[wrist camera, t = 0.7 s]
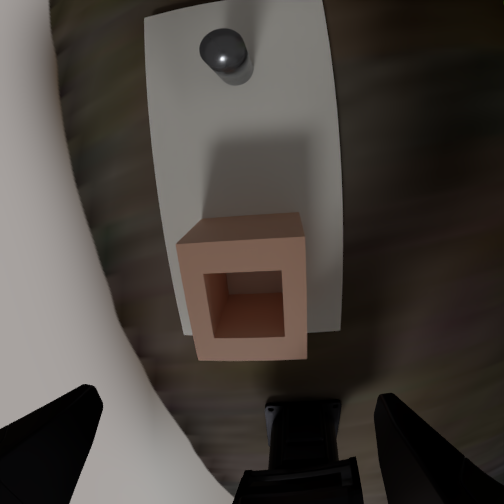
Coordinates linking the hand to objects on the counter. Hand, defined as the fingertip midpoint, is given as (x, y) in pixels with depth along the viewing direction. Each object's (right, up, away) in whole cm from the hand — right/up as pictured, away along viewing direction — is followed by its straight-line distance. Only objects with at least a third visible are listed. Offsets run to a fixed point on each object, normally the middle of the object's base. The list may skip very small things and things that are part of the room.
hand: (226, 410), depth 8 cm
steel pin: (0, +15, +8) cm, 17 cm away
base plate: (0, +10, +10) cm, 14 cm away
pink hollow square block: (+1, +4, +11) cm, 12 cm away
